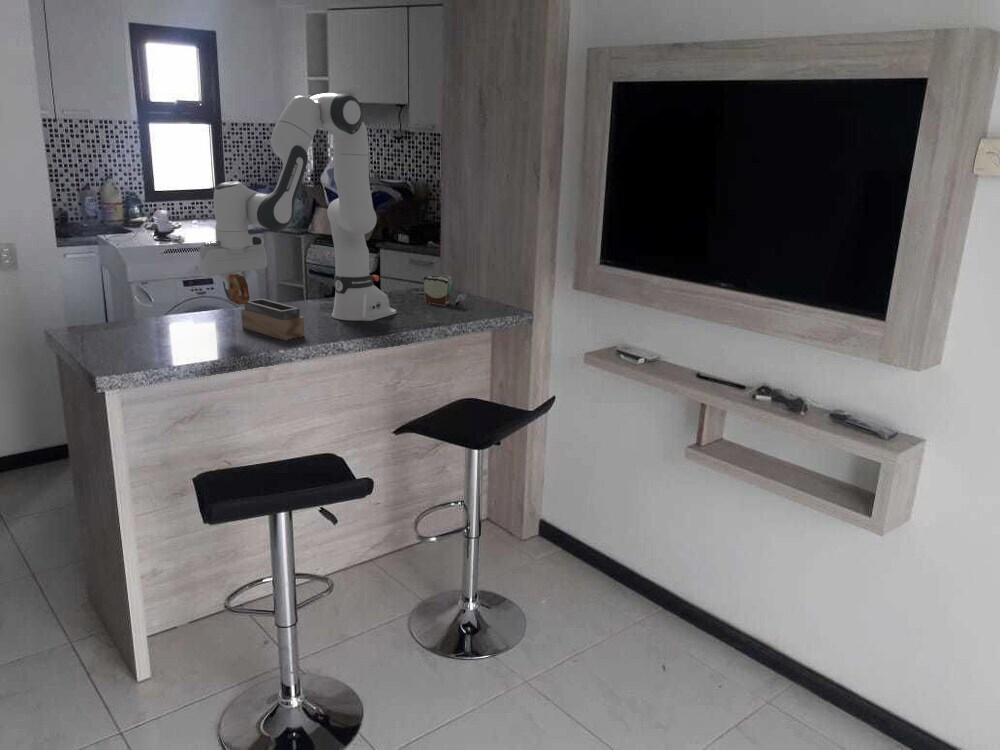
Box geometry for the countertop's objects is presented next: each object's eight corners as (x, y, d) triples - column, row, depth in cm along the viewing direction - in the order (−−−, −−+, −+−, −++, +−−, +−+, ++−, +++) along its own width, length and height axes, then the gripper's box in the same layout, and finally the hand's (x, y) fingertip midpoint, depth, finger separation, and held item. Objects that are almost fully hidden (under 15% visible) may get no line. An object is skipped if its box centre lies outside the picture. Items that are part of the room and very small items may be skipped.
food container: (458, 303, 297) (459, 277, 294) (449, 306, 292) (449, 279, 289) (431, 299, 303) (432, 273, 300) (421, 301, 298) (422, 275, 295)
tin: (225, 298, 242) (219, 271, 239) (235, 295, 243) (229, 268, 240) (243, 307, 230) (236, 279, 227) (253, 305, 232) (247, 276, 229)
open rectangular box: (261, 323, 258) (260, 297, 255) (304, 336, 244) (303, 309, 242) (242, 327, 252) (240, 300, 250) (284, 340, 239) (283, 312, 237)
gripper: (205, 244, 221) (209, 294, 225) (268, 238, 236) (271, 284, 241) (193, 242, 225) (197, 290, 229) (256, 235, 240) (259, 281, 244)
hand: (235, 287), depth 235 cm, fingers closed on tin, 3 cm apart
